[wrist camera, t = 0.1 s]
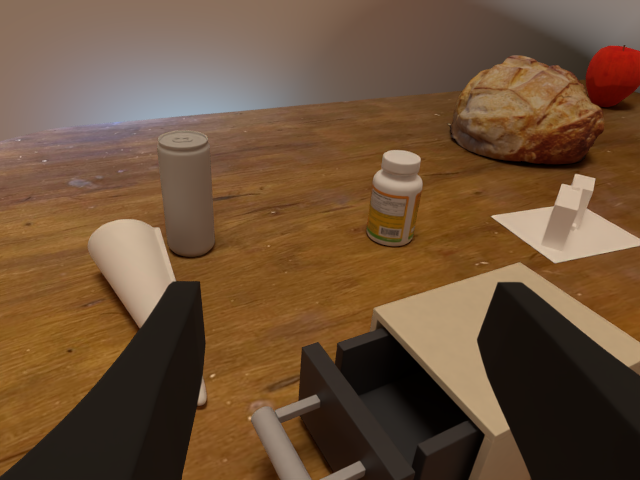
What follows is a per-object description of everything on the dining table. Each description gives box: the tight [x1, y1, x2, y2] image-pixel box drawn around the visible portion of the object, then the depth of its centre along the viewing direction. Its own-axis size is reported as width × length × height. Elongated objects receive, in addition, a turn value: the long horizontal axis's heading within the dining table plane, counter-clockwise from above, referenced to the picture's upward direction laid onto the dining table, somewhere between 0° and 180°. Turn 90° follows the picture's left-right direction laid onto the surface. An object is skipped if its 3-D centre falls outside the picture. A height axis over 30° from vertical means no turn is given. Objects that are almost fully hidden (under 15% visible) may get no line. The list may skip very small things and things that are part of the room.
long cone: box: [88, 219, 207, 406], centre depth 40 cm, size 6×6×19 cm
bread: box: [448, 55, 604, 164], centre depth 86 cm, size 25×27×15 cm
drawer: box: [251, 327, 485, 480], centre depth 31 cm, size 18×10×6 cm, turn 119°
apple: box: [586, 45, 640, 107], centre depth 112 cm, size 12×12×13 cm
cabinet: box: [370, 263, 640, 480], centre depth 34 cm, size 14×11×8 cm
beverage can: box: [157, 130, 215, 257], centre depth 49 cm, size 5×5×12 cm
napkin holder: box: [491, 174, 640, 263], centre depth 60 cm, size 15×11×6 cm
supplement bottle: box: [367, 150, 422, 246], centre depth 55 cm, size 5×5×10 cm
